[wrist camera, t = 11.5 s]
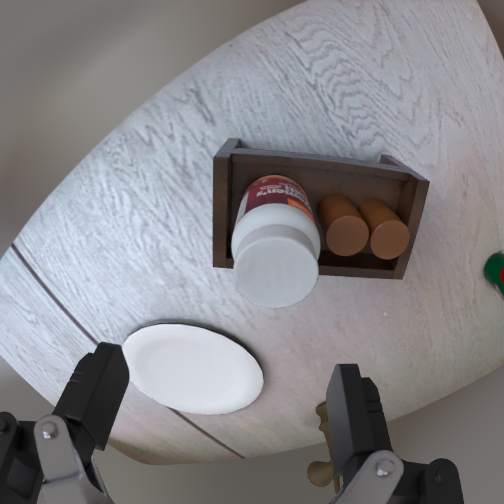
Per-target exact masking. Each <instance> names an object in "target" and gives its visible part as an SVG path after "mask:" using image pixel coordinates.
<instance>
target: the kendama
mask: <svg viewBox="0 0 504 504" xmlns="http://www.w3.org/2000/svg"><path fill="white" fill-rule="evenodd" d="M316 413H317V415H319V416H320V418H321V424H320V426H319V429H320V431H322V432H323V433H324V435H325V438H326V441H327V444H328V448H329V453H330V457H331V461H329V462H320V461H318V462H317V461H315V462H312V463H311V464H310V465H309V467H308V471H307V474H308V478H309V480H310V482H311V483H312V484H313V485H315V486H318V487H324V486H327V485H328V484H329V483H330V482H331V480H332V479H333V478H334V486H335V493H336V494H337V492H338V491H339V490H340V483H339V476H337V477H334V471H333V460H332V450H331V440H330V430H329V421H328V413H327V404H326V403H323V404H321V405H320V406H319V407H318V408H317V409H316Z"/></svg>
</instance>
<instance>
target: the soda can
mask: <svg viewBox="0 0 504 504" xmlns="http://www.w3.org/2000/svg"><path fill="white" fill-rule="evenodd" d="M484 275H485V278H486V280H487V281H488V282H489V283H490V284H491V286H492V287H493V288H494V289H495V291H496V292H497V293H498V294H499V295H500V297H501V298H502V299H503V301H504V254H502V253H500V254H496V255H494V256H492V257H491V258H490V259H489V260H488V262H487V264H486V266H485V271H484Z"/></svg>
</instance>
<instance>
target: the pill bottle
mask: <svg viewBox="0 0 504 504" xmlns="http://www.w3.org/2000/svg"><path fill="white" fill-rule="evenodd" d="M231 249H232V255H233V258H234V267H233V278H234V282H235V284H236V287H237V289H238V290H239V292H240V293H241V294H242V295H243V296H244V297H245V298H246V299H247V300H249V301H250V302H252V303H254V304H256V305H258V306H261V307H266V308H285V307H289V306H292V305H295V304H297V303H299V302H301V301H302V300H304V299H305V298H306V297H307V296H308V295H309V294H310V293H311V292H312V291H313V289H314V287H315V285H316V283H317V280H318V275H319V268H318V262H317V260H318V257H319V254H320V237H319V232H318V229H317V227H316V224H315V220H314V216H313V213H312V210H311V207H310V204H309V200H308V198H307V195H306V193H305V191H304V190H303V188H302V187H301V186H300V185H299V184H298V183H296V182H295V181H294V180H292V179H290V178H287V177H284V176H279V175H270V176H265V177H262V178H260V179H258V180H256V181H255V182H253V183H252V184H251V185H250V186H249V187H248V188H247V190H246V191H245V193H244V195H243V197H242V200H241V204H240V208H239V212H238V216H237V220H236V224H235V228H234V232H233V235H232V244H231Z"/></svg>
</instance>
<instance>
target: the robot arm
mask: <svg viewBox="0 0 504 504" xmlns="http://www.w3.org/2000/svg"><path fill="white" fill-rule="evenodd" d="M129 377H130V373H129V368H128V365H127V362H126V359H125V356H124V354H123V351H122V348H121V346H120V345H118V344H112V343H107V342H100V343H99V345H98V346H97V348H96V350H95V352H94V353H88V354H86V355H85V356H84V357H83V358H82V359H81V360H80V361H79V362H78V364H77V366H76V368H75V370H74V373H73V374H72V376H71V377H70V379H69V380H70V381H69V382H68V383H67V385H66V387H65V389H64V391H63V393H62V395H61V397H60V399H59V401H58V403H57V405H56V407H55V409H54V411H53V412H52V414H51V415H46V416H43V417H41V418H40V419H39V420H38V421H37V422H34V421H17V420H16V418H15V417H14V416H13V415H12V414H11V413H9V412H0V504H36V503H37V499H38V496H39V492H40V489H41V491H42V494H43V498H44V501H45V504H115V503H114V502H113V501H112V499H111V498H110V496H109V494H108V492H107V490H106V488H105V485H104V483H103V481H102V478H101V476H100V473H99V471H98V468H97V466H96V463H95V461H94V458H93V456H92V454H93V451H94V448H95V449H99V450H102V451H104V449H105V446H106V443H107V440H108V438H109V435H110V432H111V429H112V426H113V424H114V421H115V418H116V415H117V413H118V410H119V407H120V404H121V402H122V399H123V396H124V394H125V391H126V389H127V386H128V383H129ZM326 404H327V413H328V421H329V430H330V440H331V450H332V460H333V471H334V477H337V476H343V482H344V484H343V486H342V487H341V488H340V490H339V491H338V492H337V494H336V495H335V496H334V498H333V499H332V501H331V502H330V503H329V504H464V500H463V494H462V489H461V483H460V479H459V474H458V470H457V467H456V466H455V464H453V462H451V461H450V460H448V459H443V458H440V459H436V460H434V461H432V462H431V463H430V464H420V463H413V462H407V461H404V460H402V459H401V458H399V456H398V455H396V454H395V453H394V451H393V449H392V447H391V443H390V438H389V434H388V430H387V425H386V421H385V417H384V413H383V408H382V404H381V402H380V396H379V393H378V389H377V387H376V386H375V384H374V383H373V382H372V380H371V379H370V378H369V377H366V378H361V375H360V371H359V367H358V365H357V364H336V366H335V368H334V371H333V374H332V377H331V380H330V382H329V385H328V388H327V393H326ZM44 478H45V481H44V482H43V479H44ZM42 482H43V483H42Z"/></svg>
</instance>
